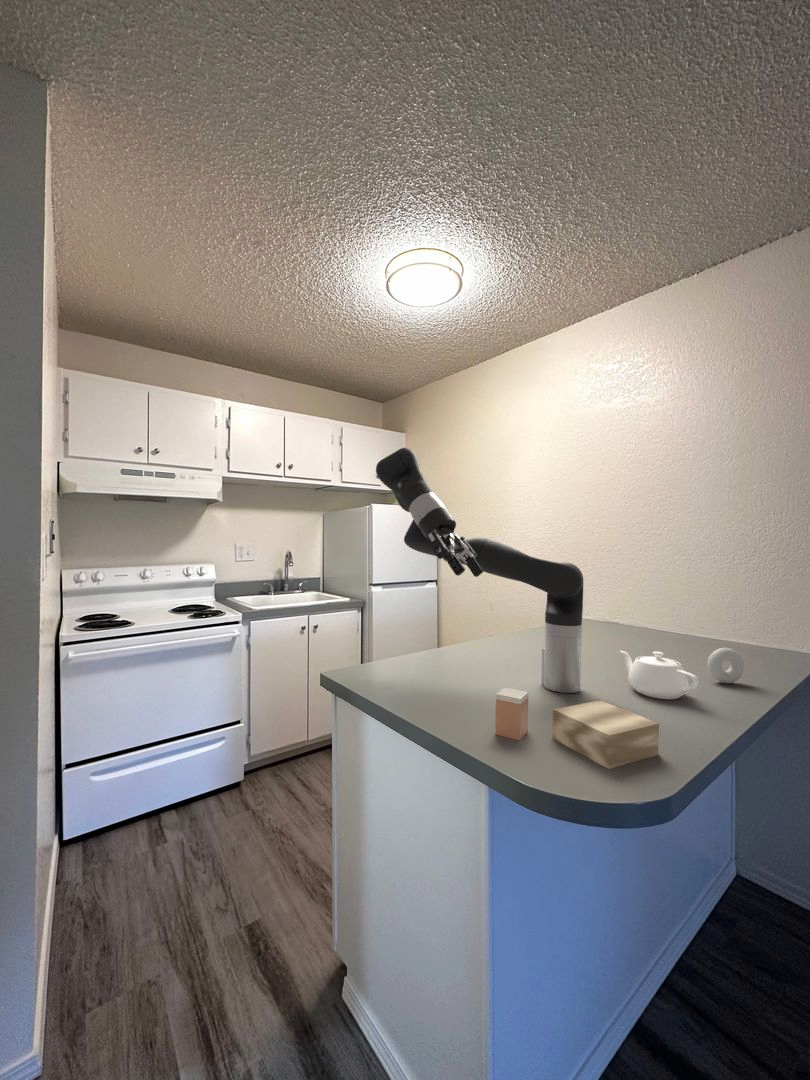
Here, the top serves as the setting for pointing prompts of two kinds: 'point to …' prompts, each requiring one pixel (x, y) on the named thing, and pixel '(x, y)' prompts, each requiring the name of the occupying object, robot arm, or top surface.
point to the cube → (511, 713)
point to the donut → (734, 669)
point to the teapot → (658, 676)
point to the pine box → (606, 733)
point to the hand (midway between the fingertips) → (470, 573)
